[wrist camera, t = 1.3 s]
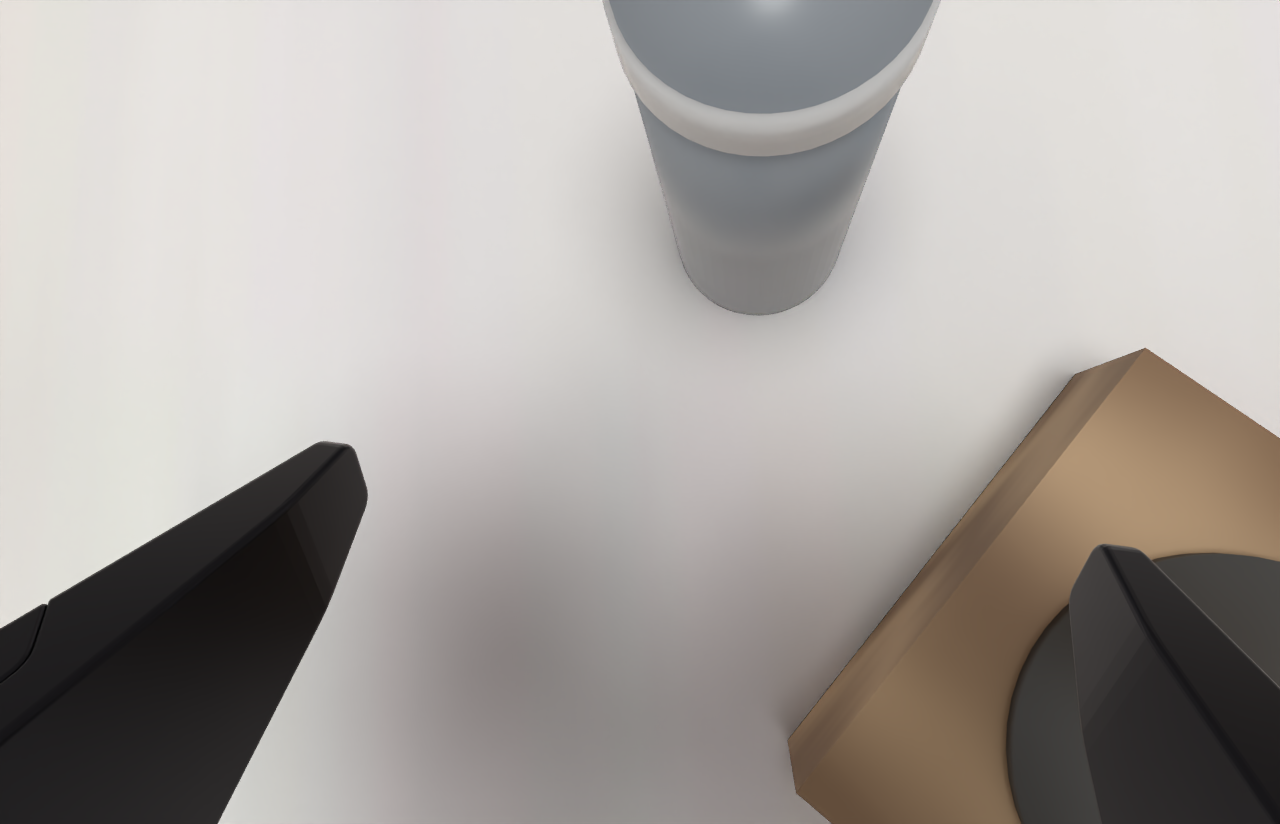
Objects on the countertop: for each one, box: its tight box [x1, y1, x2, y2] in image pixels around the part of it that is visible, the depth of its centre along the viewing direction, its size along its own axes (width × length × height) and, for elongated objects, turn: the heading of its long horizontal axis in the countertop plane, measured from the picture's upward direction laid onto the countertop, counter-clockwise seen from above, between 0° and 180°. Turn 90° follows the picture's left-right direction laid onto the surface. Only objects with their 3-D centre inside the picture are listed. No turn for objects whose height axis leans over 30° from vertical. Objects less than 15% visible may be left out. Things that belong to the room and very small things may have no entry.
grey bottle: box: [603, 0, 941, 315], centre depth 17 cm, size 5×5×13 cm
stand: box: [788, 348, 1280, 824], centre depth 19 cm, size 13×13×4 cm
